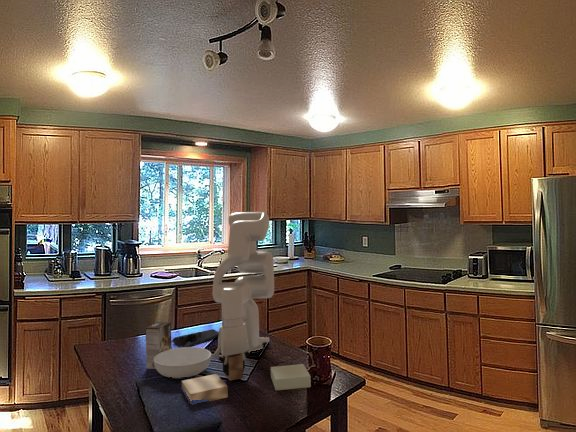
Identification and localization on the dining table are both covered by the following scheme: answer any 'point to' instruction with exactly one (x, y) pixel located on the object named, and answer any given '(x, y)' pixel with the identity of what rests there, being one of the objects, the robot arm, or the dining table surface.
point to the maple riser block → (205, 388)
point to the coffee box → (157, 341)
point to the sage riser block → (290, 377)
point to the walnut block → (235, 367)
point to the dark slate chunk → (195, 338)
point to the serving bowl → (182, 361)
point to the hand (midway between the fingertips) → (234, 371)
